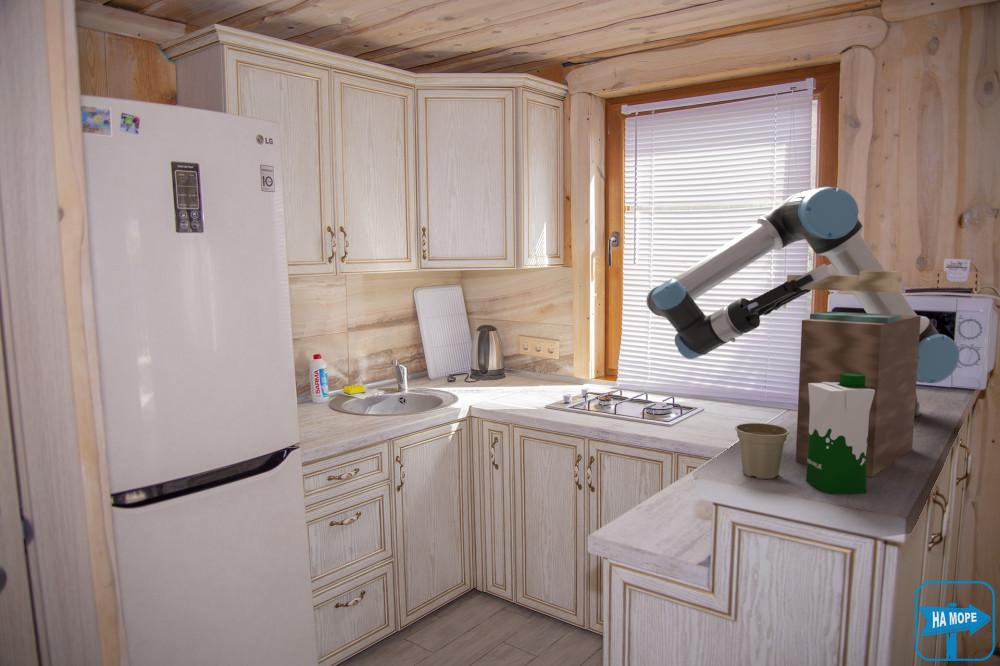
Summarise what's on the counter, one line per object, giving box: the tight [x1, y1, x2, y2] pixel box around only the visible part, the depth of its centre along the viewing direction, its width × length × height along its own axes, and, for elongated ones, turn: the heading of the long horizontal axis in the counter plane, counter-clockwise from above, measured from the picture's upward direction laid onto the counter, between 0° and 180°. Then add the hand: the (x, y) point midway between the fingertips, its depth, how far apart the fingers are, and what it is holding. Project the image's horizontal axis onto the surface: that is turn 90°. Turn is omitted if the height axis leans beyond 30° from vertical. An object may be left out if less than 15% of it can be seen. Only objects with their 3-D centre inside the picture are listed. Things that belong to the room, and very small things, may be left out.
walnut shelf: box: [795, 311, 922, 478], centre depth 143 cm, size 14×26×29 cm, turn 136°
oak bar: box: [786, 270, 903, 292], centre depth 146 cm, size 21×6×4 cm, turn 46°
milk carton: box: [805, 372, 875, 495], centre depth 124 cm, size 9×9×20 cm
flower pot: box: [734, 422, 790, 480], centre depth 131 cm, size 9×9×9 cm
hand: (830, 269), depth 148 cm, fingers closed on oak bar, 3 cm apart
